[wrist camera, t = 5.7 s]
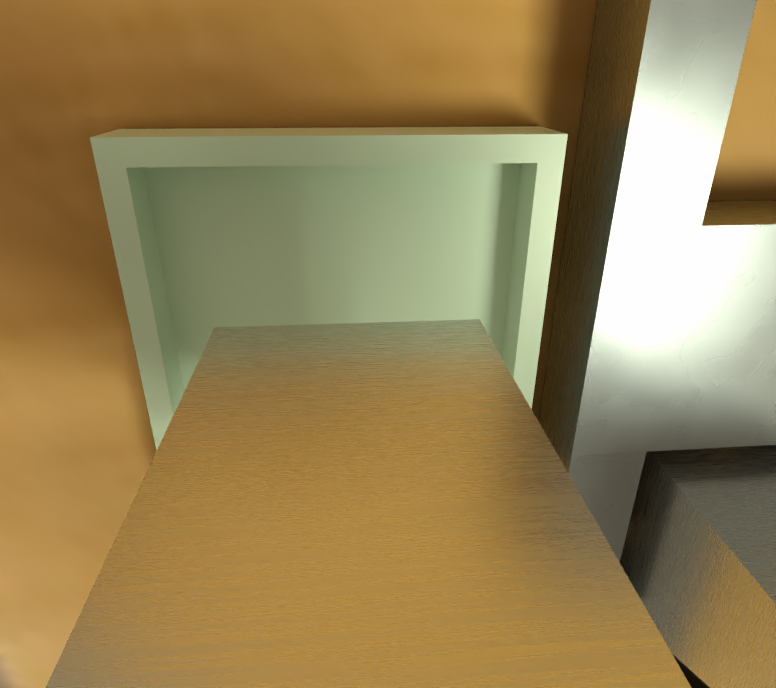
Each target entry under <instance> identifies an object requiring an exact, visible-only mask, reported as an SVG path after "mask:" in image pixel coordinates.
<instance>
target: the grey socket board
mask: <svg viewBox="0 0 776 688" xmlns="http://www.w3.org/2000/svg"><path fill="white" fill-rule="evenodd" d="M756 1H757V0H598V3H597V10H596V18H595V25H594V32H593V39H592V46H591V53H590V61H589V68H588V75H587V82H586V89H585V96H584V103H583V111H582V118H581V125H580V132H579V139H578V146H577V154H576V161H575V168H574V175H573V182H572V189H571V197H570V204H569V211H568V218H567V225H566V232H565V240H564V247H563V254H562V261H561V268H560V275H559V283H558V290H557V297H556V304H555V311H554V318H553V325H552V333H551V340H550V347H549V354H548V361H547V368H546V376H545V383H544V390H543V397H542V404H541V411H540V419H539V423H540V425H541V427H542V429H543V430H544V432H545V434H546V436H547V437H548V439H549V441H550V443H551V444H552V446H553V448H554V449H555V451H556V453H557V455H558V456H559V458H560V460H561V462H562V463H563V465H564V467H565V469H566V470H567V472H568V474H569V476H570V477H571V479H572V481H573V483H574V484H575V486H576V488H577V489H578V491H579V493H580V495H581V496H582V498H583V500H584V502H585V503H586V505H587V507H588V509H589V510H590V512H591V514H592V516H593V517H594V519H595V521H596V522H597V524H598V526H599V528H600V529H601V531H602V533H603V535H604V536H605V538H606V540H607V542H608V543H609V545H610V547H611V549H612V550H613V552H614V554H615V556H616V557H617V559H618V561H619V562H620V558H621V554H622V550H623V546H624V542H625V538H626V534H627V530H628V526H629V522H630V517H631V513H632V509H633V505H634V501H635V497H636V493H637V489H638V485H639V481H640V476H641V472H642V468H643V464H644V460H645V456H646V452H648V451H667V450H686V449H705V448H724V447H743V446H762V445H776V200H754V201H708V198H709V194H710V189H711V185H712V181H713V177H714V173H715V169H716V165H717V161H718V157H719V153H720V148H721V144H722V140H723V136H724V132H725V128H726V124H727V120H728V116H729V112H730V107H731V103H732V99H733V95H734V91H735V87H736V83H737V79H738V75H739V71H740V66H741V62H742V58H743V54H744V50H745V46H746V42H747V38H748V34H749V30H750V25H751V21H752V17H753V13H754V9H755V5H756Z"/></svg>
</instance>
